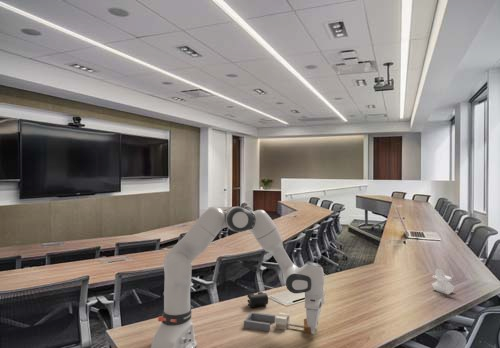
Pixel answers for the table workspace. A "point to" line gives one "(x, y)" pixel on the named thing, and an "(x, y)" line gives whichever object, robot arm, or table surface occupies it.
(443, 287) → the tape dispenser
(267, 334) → the table surface
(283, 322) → the corded block
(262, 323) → the tray
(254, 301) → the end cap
